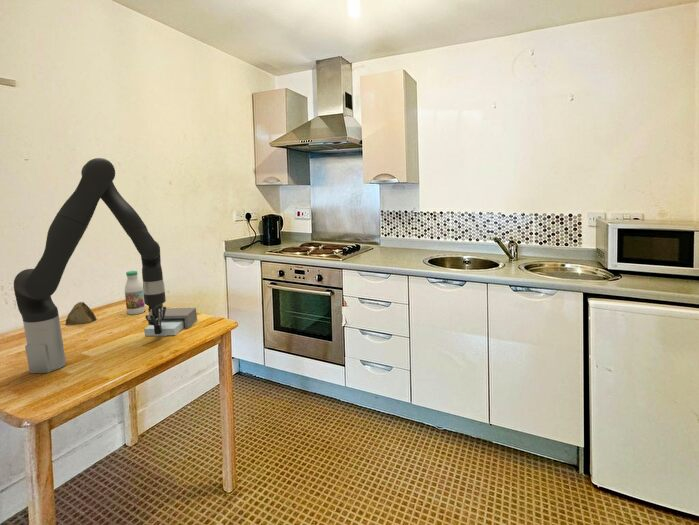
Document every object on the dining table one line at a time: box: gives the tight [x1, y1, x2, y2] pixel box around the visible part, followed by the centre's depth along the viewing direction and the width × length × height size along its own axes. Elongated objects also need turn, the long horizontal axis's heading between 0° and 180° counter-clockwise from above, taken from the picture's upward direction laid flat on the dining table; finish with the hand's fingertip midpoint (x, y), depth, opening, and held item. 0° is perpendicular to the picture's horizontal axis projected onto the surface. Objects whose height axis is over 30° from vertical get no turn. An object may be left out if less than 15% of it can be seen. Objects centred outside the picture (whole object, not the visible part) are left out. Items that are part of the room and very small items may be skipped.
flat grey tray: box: [144, 318, 185, 337], centre depth 165 cm, size 16×12×3 cm
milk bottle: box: [124, 270, 146, 315], centre depth 186 cm, size 8×8×20 cm
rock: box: [65, 301, 98, 325], centre depth 174 cm, size 11×9×10 cm
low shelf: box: [147, 307, 198, 329], centre depth 170 cm, size 11×16×6 cm, turn 92°
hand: (158, 333), depth 156 cm, fingers closed
